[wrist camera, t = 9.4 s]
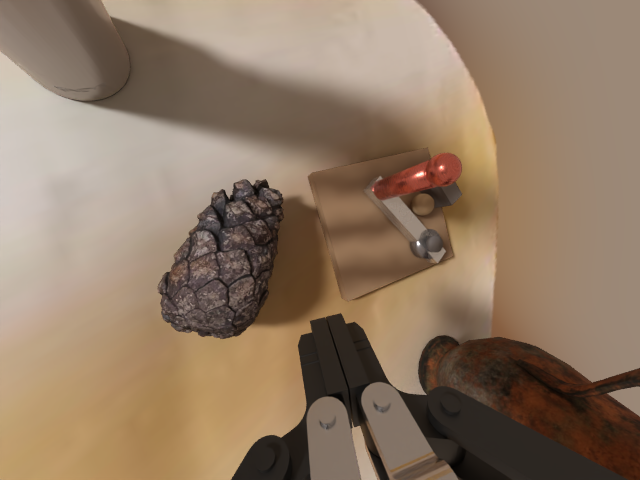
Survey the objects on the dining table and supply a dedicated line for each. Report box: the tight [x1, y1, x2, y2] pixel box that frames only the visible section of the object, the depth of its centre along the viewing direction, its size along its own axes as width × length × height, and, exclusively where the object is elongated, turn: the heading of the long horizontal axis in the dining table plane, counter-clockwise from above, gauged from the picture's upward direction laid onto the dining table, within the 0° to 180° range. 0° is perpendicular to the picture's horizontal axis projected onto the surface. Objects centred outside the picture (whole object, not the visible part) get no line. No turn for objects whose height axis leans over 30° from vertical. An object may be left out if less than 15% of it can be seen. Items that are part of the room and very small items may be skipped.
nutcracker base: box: [308, 148, 462, 301], centre depth 36 cm, size 18×20×6 cm
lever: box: [363, 153, 462, 263], centre depth 31 cm, size 16×4×14 cm, turn 47°
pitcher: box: [418, 336, 640, 480], centre depth 29 cm, size 17×21×30 cm
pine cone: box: [158, 179, 284, 339], centre depth 27 cm, size 10×18×10 cm, turn 164°
